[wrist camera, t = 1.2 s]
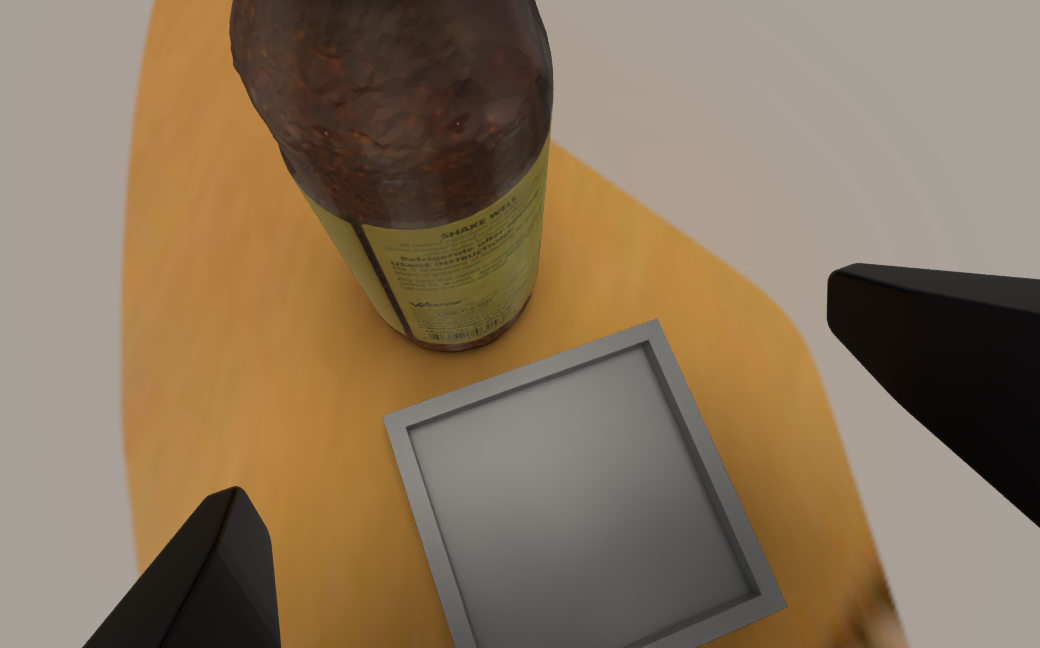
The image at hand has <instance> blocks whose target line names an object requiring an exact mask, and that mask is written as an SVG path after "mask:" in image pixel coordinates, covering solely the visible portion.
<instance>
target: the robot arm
mask: <svg viewBox="0 0 1040 648" xmlns="http://www.w3.org/2000/svg"><path fill="white" fill-rule="evenodd" d="M827 285H828V286H827V287H828V288H827V322H828V325H829V328H830V329H831V331H832V333H833V334H834V335H835V336H836V337H837V338H838V339H839V341H840V342H841V343H842V344H843V345H844V346H845V347H846V348H847V349H848V350H849V351H850V352H851V353H852V355H854V356H855V358H856V359H857V360H858V361H859V362H860V363H861V364H862V365H863V366H864V367H865V368H866V370H867V371H868V372H869V373H870V374H871V375H872V376H873V377H874V378H875V379H876V380H877V381H878V382H879V383H880V384H881V386H882V387H884V389H885V390H886V391H887V392H888V393H889V394H890V395H891V396H892V397H893V398H894V399H895V400H896V401H897V402H898V403H899V404H900V405H901V406H902V407H903V408H904V409H906V411H908V412H909V413H910V414H911V415H912V416H913V417H914V418H915V419H917V420H918V421H919V422H920V423H921V424H922V425H923V426H925V427H926V428H927V429H928V430H929V431H930V432H932V433H933V434H934V435H935V436H936V437H937V438H938V439H939V440H940V441H942V442H943V443H944V444H945V445H946V446H947V447H948V448H950V449H951V450H952V451H953V452H954V453H955V454H956V455H957V456H959V457H960V458H961V459H962V460H963V461H964V462H966V463H967V464H968V465H969V466H970V467H971V468H972V469H973V470H975V471H976V472H977V473H978V474H979V475H980V476H981V477H983V478H984V479H985V480H986V481H987V482H988V483H989V484H990V485H992V486H993V487H994V488H995V489H996V490H997V491H998V492H1000V493H1001V494H1002V495H1003V496H1004V497H1005V498H1006V499H1008V500H1009V501H1010V502H1011V503H1012V504H1013V505H1014V506H1015V507H1017V508H1018V509H1019V510H1020V511H1021V512H1022V513H1024V514H1025V515H1026V516H1027V517H1028V518H1029V519H1030V520H1031V521H1032V522H1034V523H1035V524H1036V525H1037V526H1038V527H1039V528H1040V279H1029V278H1017V277H1007V276H996V275H985V274H974V273H963V272H951V271H941V270H930V269H918V268H908V267H897V266H886V265H875V264H863V263H856V264H851V265H848V266H846V267H843V268H840V269H838V270H835V271H833V272H832V273H831V274H830V276H829V278H828V284H827ZM82 648H281V640H280V627H279V617H278V606H277V596H276V586H275V575H274V565H273V555H272V545H271V539H270V535H269V532H268V530H267V528H266V526H265V524H264V522H263V521H262V519H261V517H260V516H259V514H258V512H257V510H256V509H255V507H254V505H253V504H252V502H251V500H250V499H249V497H248V495H247V494H246V492H245V491H244V490H243V489H242V488H241V487H238V486H233V487H230V488H227V489H225V490H222V491H219V492H216V493H213V494H211V495H209V496H207V497H206V498H205V499H204V500H203V501H202V502H201V504H200V505H199V506H198V507H197V508H196V510H195V511H194V512H193V513H192V515H191V516H190V517H189V518H188V519H187V521H186V522H185V523H184V524H183V526H182V527H181V528H180V529H179V530H178V532H177V533H176V534H175V535H174V537H173V538H172V539H171V540H170V541H169V543H168V544H167V545H166V546H165V547H164V549H163V550H162V551H161V552H160V554H159V555H158V556H157V557H156V558H155V560H154V561H153V562H152V563H151V565H150V566H149V567H148V568H147V569H146V571H145V572H144V573H143V574H142V575H141V577H140V578H139V579H138V580H137V582H136V583H135V584H134V585H133V586H132V588H131V589H130V590H129V591H128V593H127V594H126V595H125V596H124V597H123V599H122V600H121V601H120V602H119V604H118V605H117V606H116V607H115V608H114V610H113V611H112V612H111V613H110V614H109V616H108V617H107V618H106V619H105V621H104V622H103V623H102V624H101V625H100V627H99V628H98V629H97V630H96V632H95V633H94V634H93V635H92V636H91V638H90V639H89V640H88V641H87V642H86V644H85V645H84V646H83V647H82Z"/></svg>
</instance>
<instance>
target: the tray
mask: <svg viewBox="0 0 1040 648" xmlns="http://www.w3.org/2000/svg"><path fill="white" fill-rule="evenodd" d="M383 420H384V423H385V426H386V429H387V432H388V436H389V439H390V442H391V445H392V448H393V451H394V455H395V458H396V461H397V464H398V467H399V471H400V474H401V477H402V480H403V483H404V487H405V490H406V493H407V496H408V499H409V502H410V506H411V509H412V512H413V515H414V518H415V522H416V525H417V528H418V531H419V534H420V537H421V541H422V544H423V547H424V550H425V553H426V557H427V560H428V563H429V566H430V569H431V572H432V576H433V579H434V582H435V585H436V588H437V592H438V595H439V598H440V601H441V604H442V607H443V611H444V614H445V617H446V620H447V623H448V627H449V630H450V633H451V636H452V639H453V642H454V646H455V648H696V647H698V646H701V645H703V644H705V643H707V642H710V641H712V640H714V639H717V638H719V637H721V636H723V635H726V634H728V633H730V632H732V631H735V630H737V629H739V628H741V627H744V626H746V625H748V624H750V623H753V622H755V621H757V620H759V619H762V618H764V617H766V616H768V615H771V614H773V613H775V612H778V611H780V610H782V609H784V608H787V607H788V606H787V604H786V602H785V600H784V597H783V595H782V593H781V591H780V588H779V586H778V584H777V582H776V580H775V577H774V575H773V573H772V571H771V569H770V566H769V564H768V562H767V560H766V558H765V555H764V553H763V551H762V549H761V547H760V544H759V542H758V540H757V538H756V536H755V533H754V531H753V529H752V527H751V524H750V522H749V520H748V518H747V516H746V513H745V511H744V509H743V507H742V505H741V502H740V500H739V498H738V496H737V494H736V491H735V489H734V487H733V485H732V483H731V480H730V478H729V476H728V474H727V472H726V469H725V467H724V465H723V463H722V460H721V458H720V456H719V454H718V452H717V449H716V447H715V445H714V443H713V441H712V438H711V436H710V434H709V432H708V430H707V427H706V425H705V423H704V421H703V419H702V416H701V414H700V412H699V410H698V407H697V405H696V403H695V401H694V399H693V396H692V394H691V392H690V390H689V388H688V385H687V383H686V381H685V379H684V377H683V374H682V372H681V370H680V368H679V366H678V363H677V361H676V359H675V357H674V355H673V352H672V350H671V348H670V346H669V343H668V341H667V339H666V337H665V335H664V332H663V330H662V328H661V326H660V324H659V321H658V319H654V320H651V321H649V322H646V323H643V324H640V325H637V326H634V327H632V328H629V329H626V330H623V331H620V332H618V333H615V334H612V335H609V336H606V337H603V338H601V339H598V340H595V341H592V342H589V343H587V344H584V345H581V346H578V347H575V348H572V349H570V350H567V351H564V352H561V353H558V354H556V355H553V356H550V357H547V358H544V359H541V360H539V361H536V362H533V363H530V364H527V365H525V366H522V367H519V368H516V369H513V370H511V371H508V372H505V373H502V374H499V375H496V376H494V377H491V378H488V379H485V380H482V381H480V382H477V383H474V384H471V385H468V386H465V387H463V388H460V389H457V390H454V391H451V392H449V393H446V394H443V395H440V396H437V397H434V398H432V399H429V400H426V401H423V402H420V403H418V404H415V405H412V406H409V407H406V408H403V409H401V410H398V411H395V412H392V413H389V414H387V415H384V416H383Z"/></svg>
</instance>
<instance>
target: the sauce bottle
mask: <svg viewBox="0 0 1040 648" xmlns="http://www.w3.org/2000/svg"><path fill="white" fill-rule="evenodd" d="M229 24H230V31H229V34H230V40H231V52H232V56H233V65H234V68H235V70H236V71H237V72H238V73H239V75H240V77H241V79H242V82H243V84H244V86H245V88H246V90H247V93H248V95H249V97H250V100H251V102H252V104H253V106H254V107H255V109H256V110H257V112H258V113H259V115H260V116H261V118H262V119H263V120H264V122H265V123H266V124H267V126H268V128H269V130H270V132H271V133H272V135H273V137H274V138H275V140H276V141H277V142H278V145H279V148H280V151H281V155H282V158H283V161H284V163H285V165H286V167H287V169H288V171H289V173H290V174H291V176H292V177H293V179H294V181H295V182H296V184H297V185H298V187H299V189H300V190H301V192H302V193H303V195H304V197H305V198H306V200H307V201H308V203H309V204H310V206H311V208H312V209H313V211H314V212H315V214H316V215H317V217H318V218H319V220H320V222H321V223H322V225H323V226H324V228H325V230H326V231H327V233H328V234H329V236H330V238H331V239H332V241H333V242H334V244H335V246H336V247H337V249H338V251H339V252H340V254H341V255H342V257H343V259H344V260H345V262H346V263H347V265H348V267H349V268H350V270H351V271H352V273H353V275H354V276H355V278H356V279H357V281H358V283H359V284H360V286H361V287H362V289H363V290H364V292H365V294H366V295H367V297H368V298H369V300H370V302H371V303H372V305H373V306H374V308H375V309H376V311H377V312H378V313H379V315H380V316H381V317H382V318H383V319H384V320H385V321H386V322H387V323H388V324H389V325H391V326H392V327H393V328H394V329H396V330H397V331H399V332H400V333H402V335H403V336H405V337H407V338H409V339H411V340H412V341H413V342H414V343H416V344H417V345H419V346H421V347H423V348H428V349H433V350H439V351H459V350H462V349H468V348H473V347H478V346H481V345H485V344H488V343H490V342H492V341H494V340H496V339H497V338H498V337H499V336H500V335H501V334H503V333H504V332H505V331H506V330H507V329H508V328H509V326H511V325H512V324H513V323H514V322H515V321H516V319H517V318H518V317H519V316H520V314H521V313H522V312H523V310H524V308H525V306H526V305H527V303H528V301H529V299H530V298H531V293H532V289H533V287H534V284H535V280H536V277H537V272H538V264H539V254H540V244H541V232H542V220H543V210H544V200H545V190H546V178H547V167H548V155H549V143H550V131H551V120H552V107H553V67H552V58H551V51H550V47H549V43H548V38H547V33H546V30H545V27H544V25H543V22H542V19H541V17H540V14H539V11H538V8H537V5H536V2H535V0H233V3H232V9H231V16H230V22H229Z"/></svg>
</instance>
